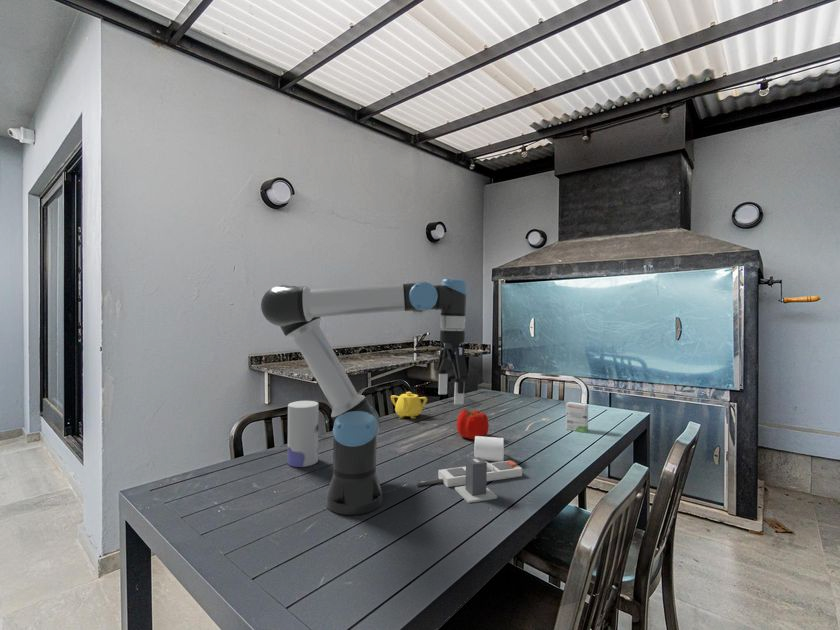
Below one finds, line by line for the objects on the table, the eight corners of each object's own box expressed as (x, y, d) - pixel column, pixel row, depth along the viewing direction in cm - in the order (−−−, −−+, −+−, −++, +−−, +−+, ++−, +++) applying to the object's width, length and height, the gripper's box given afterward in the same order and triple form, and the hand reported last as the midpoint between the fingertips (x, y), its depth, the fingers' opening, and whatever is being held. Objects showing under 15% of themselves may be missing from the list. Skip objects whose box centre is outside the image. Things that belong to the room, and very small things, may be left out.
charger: (472, 496, 118) (472, 464, 117) (465, 489, 122) (465, 458, 121) (486, 493, 119) (486, 462, 119) (478, 487, 123) (479, 456, 123)
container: (323, 461, 143) (324, 403, 142) (297, 470, 135) (298, 408, 135) (307, 454, 150) (308, 398, 149) (281, 461, 142) (282, 403, 142)
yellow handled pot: (387, 415, 203) (387, 391, 203) (411, 411, 212) (411, 388, 212) (403, 422, 192) (404, 396, 192) (428, 417, 201) (428, 393, 201)
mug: (503, 465, 142) (503, 442, 142) (473, 462, 144) (474, 440, 144) (503, 453, 154) (503, 431, 154) (476, 451, 156) (476, 429, 156)
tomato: (495, 438, 171) (495, 413, 170) (470, 444, 163) (471, 417, 163) (473, 430, 182) (473, 406, 181) (449, 435, 174) (449, 410, 174)
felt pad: (468, 503, 115) (468, 500, 115) (454, 489, 123) (454, 487, 123) (497, 498, 118) (497, 496, 118) (481, 485, 126) (481, 483, 126)
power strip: (420, 491, 121) (420, 478, 121) (412, 481, 128) (412, 469, 128) (522, 476, 133) (522, 464, 133) (510, 467, 140) (510, 457, 140)
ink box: (588, 430, 184) (588, 403, 184) (585, 433, 180) (586, 405, 180) (568, 426, 189) (568, 401, 189) (565, 429, 185) (565, 403, 185)
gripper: (481, 332, 117) (478, 408, 117) (449, 327, 141) (447, 390, 141) (456, 332, 115) (454, 409, 115) (428, 327, 138) (426, 390, 139)
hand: (450, 398), depth 128 cm, fingers open, 13 cm apart
